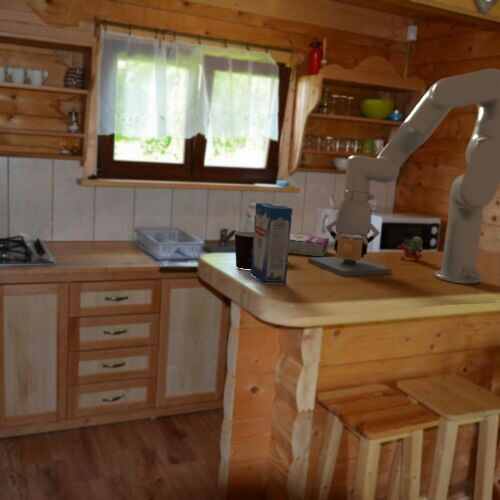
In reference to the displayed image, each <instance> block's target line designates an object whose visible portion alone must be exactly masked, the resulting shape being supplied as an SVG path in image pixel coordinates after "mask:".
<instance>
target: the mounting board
mask: <svg viewBox="0 0 500 500" xmlns="http://www.w3.org/2000/svg"><path fill="white" fill-rule="evenodd" d="M342 261H343V259H342V258H336V256H327V257H326V256H323V257H318V256H315V257H308V259H307V263H308V264H311V265H313V266H316V267H318V268H320V269H323V270H326V271H328V272H331V273H333V274H335V275H338V276H341V277H353V276H356V277H357V276H368V275H369V276H372V275H388V274H389V275H390V274H391V272H392V268H389V267H387V266H384V265H381V264H378V263H376V262H373V261H370V260H367V259H364V258H362V259H361V260H360V261H357V260H356V264H354V265H349V264H344V263H342Z"/></svg>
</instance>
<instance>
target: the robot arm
mask: <svg viewBox="0 0 500 500" xmlns="http://www.w3.org/2000/svg"><path fill="white" fill-rule="evenodd" d="M472 105H476V107H477V117H476V121H475V125H474V128H473V131H472V133H471V136H470V139H469V143H468V144H467V146H466V149H465V156H464V157H465V161H466V163H467V167H466V170H465V173H463V174H460V175H459V176H457V177H456V178H455V179H454V181H453V182H452V184H451V187H450V190H449V191H450V193H449V206H448V207H449V208H448V218H447V226H446V230H445V237H444V238H445V239H444V244H443V245H444V246H443V251H442V252H443V253H442V260H441V265H440V266H441V267H440V270H437V271H435V272H434V277H435V278H437V279H440V280H441V281H447V282H449V283H457V284H464V285H465V284H466V285H467V284H468V285H472V284H473V285H474V284H477V283H480V281H481V280H482V279H484V277H485V273H482V272H478V271H479V267H477V258H478V251H479V245H480V239H481V232H482V227H483V219H484V217H483V216H484V208H485V207H487V206H489V205H490V203H492V201H493V200H494V198H495V196H496V193H497V191H498V188H499V185H500V69H497V68H493V67H492V68H485V69H481V70H477V71H473V72H469V73H465V74H464V73H463V74H459V75H454V76H449V77H444V78H441V79H439V80H438V81H436V82H434V84H432V85H431V86H430V87H429V89H428V90H427V91H426V92H425V93H424V95H423V97H422V98H421V99H420V100H419V101H418V103H417V104H416V106H415V107H414V108H413V110H412V111H411V112H410V114H409V115H408V116H407V118H405V120H404V121H403V122H402V124H401V125H400V126H399V128H398V129H397V131H396V133H394V135H393V137H392V138H391V139H390V140H389V141H388V143H387V144H386V146H384V148H382V150H381V152H380V153H379V154H378V155H377V157H370V156H367V155H356V154H354V155H350V156H348V158H347V162H346V172H345V181H344V188H343V189H344V190H343V199H341V200H340V202H339V207H338V211H337V217H336V219H335V220H334V221H333V222H331V223H329V224H328V225H327V226H325V227H326V230H327V231H328V233H329V235H330V236H331V237H332V238H333V240H334V248H333V250H334V251H335V254H336V255H337V246H338V238H339V237H340V236H341V235H343V234H344V235H350V236H359V237H362V239H363V246H362V255H361V257H362V258H364V257H365V255H367V252H368V244H369V243H371V242H373V240H374V239H376V238H377V237H378V236H379V235H380V234H381V233H380V231H379V230H378V229H377V228H376V227H375V225H373V224H372V203H371V202H369V201H371V200H374V199H375V195H374V194H371V192H370V190H371V183H372V181H373V182H378V183H382V184H389V183H392V182H394V181H395V180H396V179H397V178H398V176H399V175H400V168H401V167H402V166H403V164H404V163H405V162H406V161H407V159H408V158H409V157H410V156H411V154H413V152H414V151H415V150H417V149H418V148H419V147H420V146H422V145H423V144H425V142H426V141H427V140H428V139H429V138H430V137H431V136H432V134H433V133H434V132H435V130H436V129H437V128H438V126H439V125H440V124H441V123H442V121H444V119H445V118H446V117H447V115H448V114H449V113H450V111H452V109H457V108H461V107H468V106H472ZM334 227H335V230H334V229H333V228H334ZM370 231H371V232H372V233H373V234H372V235H370V236H369V237H368V235H369V233H370ZM336 232H337V233H336Z"/></svg>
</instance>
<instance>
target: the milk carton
mask: <svg viewBox="0 0 500 500" xmlns="http://www.w3.org/2000/svg"><path fill="white" fill-rule="evenodd" d="M254 215H255V216H254V227H253V228H254V229H253V232H254V239H253V252H252V265H251V271H250V275H251V274H252V275H253V276H255V277H256V278H257V279H259V280H260V281H261V282H263V283H287V276H288V275H287V274H288V265H289V264H288V262H289V254H290V253H289V241H290V234H291V227H292V217H293V208H291V207H288V206H284V205H283V204H279V203H267V202H266V203H261V202H255V214H254ZM253 276H252V277H253ZM256 278H255V279H256ZM257 279H256V280H257ZM260 281H259V282H260ZM261 282H260V283H261ZM263 283H262V284H263Z"/></svg>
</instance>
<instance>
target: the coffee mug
mask: <svg viewBox="0 0 500 500" xmlns="http://www.w3.org/2000/svg"><path fill="white" fill-rule="evenodd" d="M253 239H254V231H235V232H234V246H235V247H234V249H235V250H234V251H235V268H236V267H238V268H243V269H251V265H252V252H253Z"/></svg>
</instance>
